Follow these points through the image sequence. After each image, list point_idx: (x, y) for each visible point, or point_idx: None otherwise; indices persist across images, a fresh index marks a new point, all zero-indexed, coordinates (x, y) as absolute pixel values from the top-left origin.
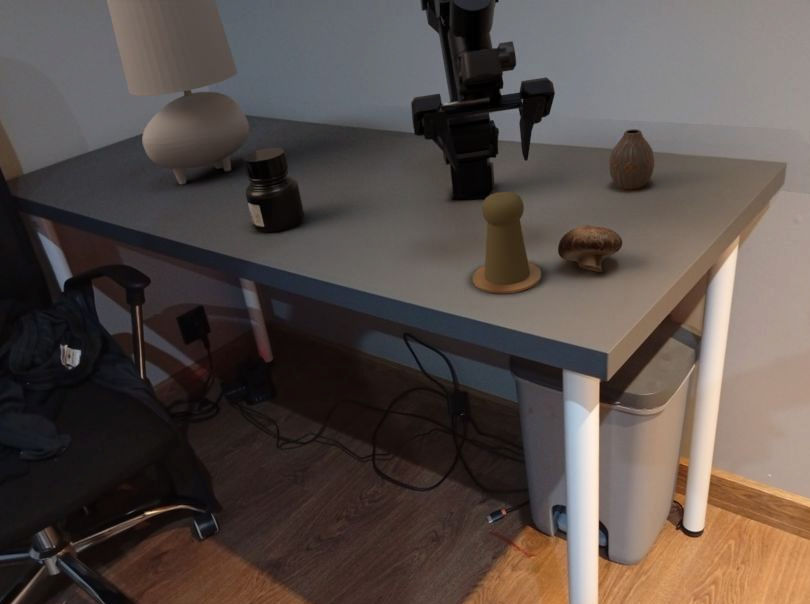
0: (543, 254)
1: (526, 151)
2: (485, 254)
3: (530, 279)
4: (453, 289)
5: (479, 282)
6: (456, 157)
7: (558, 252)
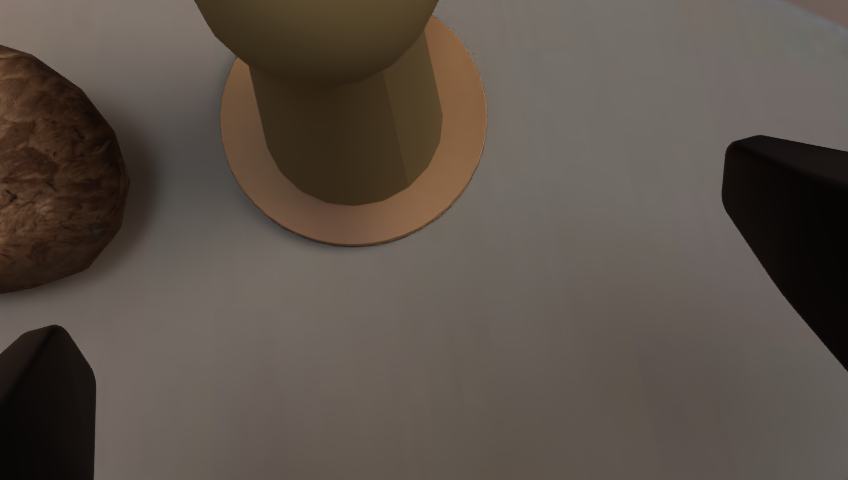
0: (214, 321)
1: (15, 353)
2: (434, 77)
3: None
4: (547, 39)
5: (453, 58)
6: (798, 167)
7: (125, 168)
